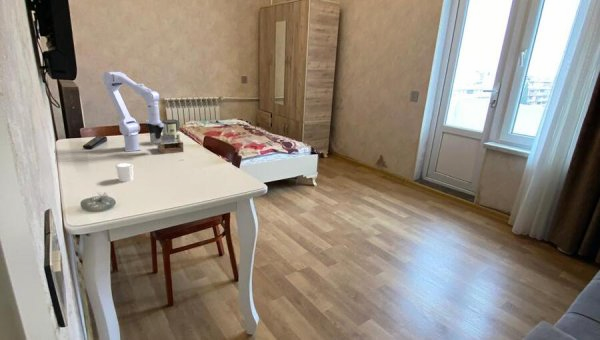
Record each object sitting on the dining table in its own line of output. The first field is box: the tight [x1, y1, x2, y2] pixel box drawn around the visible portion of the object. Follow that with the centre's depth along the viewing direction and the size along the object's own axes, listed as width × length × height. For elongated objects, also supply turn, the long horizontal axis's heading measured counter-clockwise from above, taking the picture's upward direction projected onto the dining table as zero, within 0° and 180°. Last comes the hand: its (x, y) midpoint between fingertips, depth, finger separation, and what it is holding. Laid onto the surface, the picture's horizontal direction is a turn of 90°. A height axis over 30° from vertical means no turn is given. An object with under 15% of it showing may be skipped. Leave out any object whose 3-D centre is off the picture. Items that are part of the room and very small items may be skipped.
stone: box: [149, 133, 162, 144], centre depth 183 cm, size 4×4×4 cm
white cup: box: [115, 162, 134, 183], centre depth 144 cm, size 7×7×7 cm
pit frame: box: [156, 138, 184, 155], centre depth 192 cm, size 13×12×6 cm
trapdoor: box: [161, 134, 179, 144], centre depth 192 cm, size 10×9×3 cm
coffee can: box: [161, 119, 181, 141], centre depth 207 cm, size 10×10×14 cm
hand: (155, 137), depth 183 cm, fingers closed on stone, 4 cm apart
